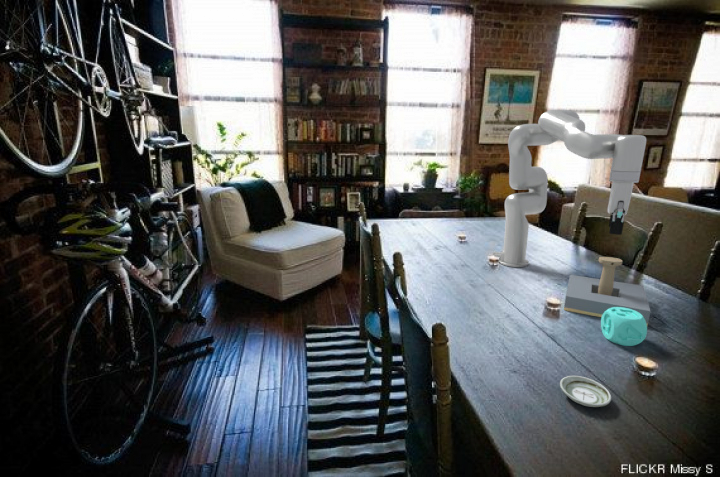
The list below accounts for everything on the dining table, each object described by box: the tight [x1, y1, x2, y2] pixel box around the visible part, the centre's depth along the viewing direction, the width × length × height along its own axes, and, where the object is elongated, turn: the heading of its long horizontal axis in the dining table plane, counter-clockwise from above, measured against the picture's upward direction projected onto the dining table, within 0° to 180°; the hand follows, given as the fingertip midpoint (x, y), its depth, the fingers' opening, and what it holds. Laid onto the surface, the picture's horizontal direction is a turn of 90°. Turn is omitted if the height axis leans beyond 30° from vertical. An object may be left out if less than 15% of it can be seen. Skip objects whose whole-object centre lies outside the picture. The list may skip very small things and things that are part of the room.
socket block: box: [563, 274, 651, 327], centre depth 124 cm, size 22×22×5 cm
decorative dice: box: [600, 307, 648, 347], centre depth 103 cm, size 8×8×8 cm
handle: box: [598, 256, 623, 296], centre depth 123 cm, size 5×6×15 cm
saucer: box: [559, 375, 612, 408], centre depth 81 cm, size 10×10×2 cm
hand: (614, 230), depth 118 cm, fingers open, 9 cm apart
